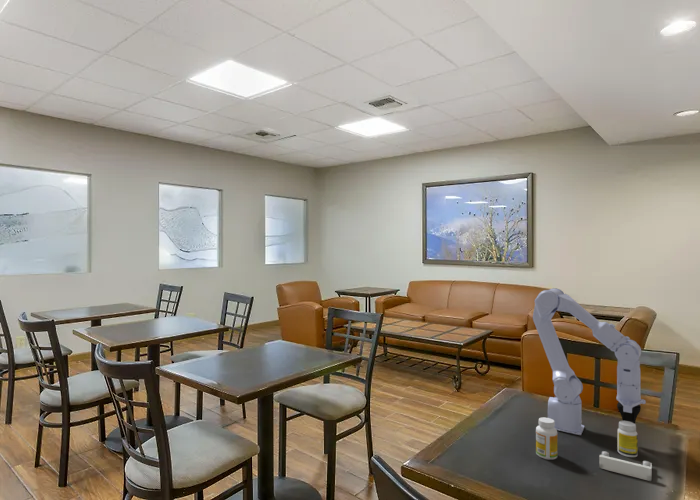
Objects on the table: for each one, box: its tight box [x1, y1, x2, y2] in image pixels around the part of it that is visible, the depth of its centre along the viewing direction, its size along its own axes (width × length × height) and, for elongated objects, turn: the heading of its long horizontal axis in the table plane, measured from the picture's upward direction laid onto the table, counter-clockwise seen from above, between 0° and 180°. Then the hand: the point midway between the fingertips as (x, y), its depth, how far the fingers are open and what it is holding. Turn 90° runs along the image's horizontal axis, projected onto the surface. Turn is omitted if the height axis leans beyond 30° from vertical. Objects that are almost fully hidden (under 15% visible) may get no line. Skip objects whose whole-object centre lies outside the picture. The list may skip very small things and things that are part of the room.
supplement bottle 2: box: [616, 420, 639, 458], centre depth 118 cm, size 5×5×8 cm
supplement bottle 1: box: [535, 417, 558, 460], centre depth 117 cm, size 5×5×10 cm
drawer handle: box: [598, 450, 653, 482], centre depth 110 cm, size 11×8×3 cm
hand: (629, 429), depth 124 cm, fingers closed
